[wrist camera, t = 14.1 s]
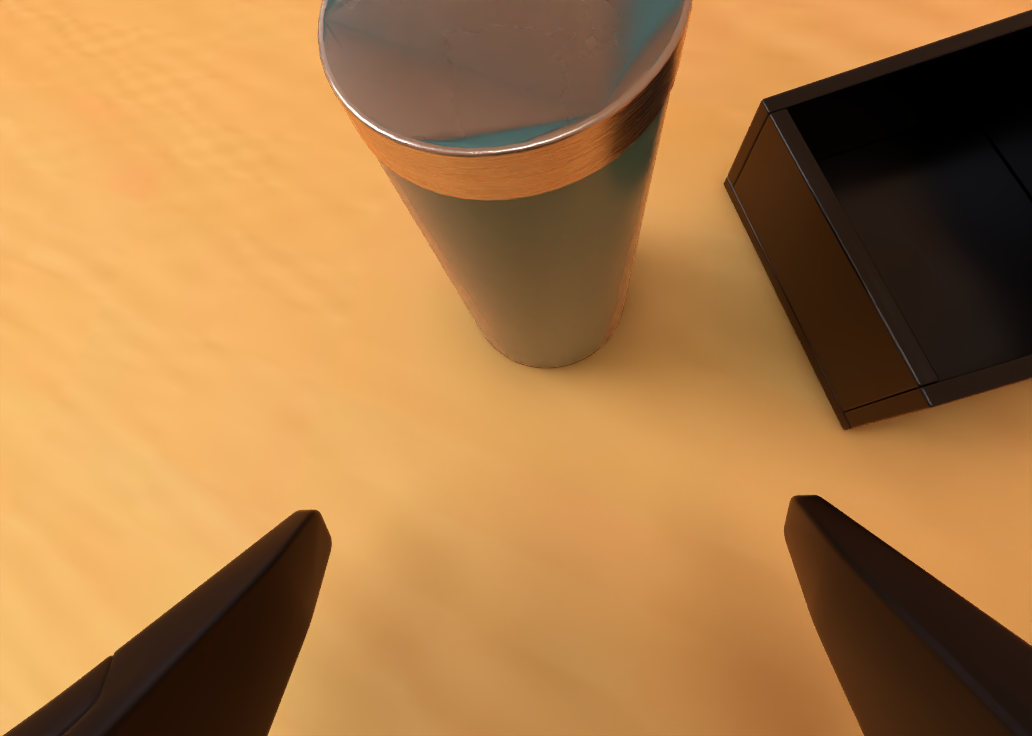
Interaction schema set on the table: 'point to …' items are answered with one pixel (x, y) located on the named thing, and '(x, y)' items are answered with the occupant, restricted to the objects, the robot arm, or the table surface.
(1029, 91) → the tray
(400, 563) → the table surface
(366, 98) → the tin
